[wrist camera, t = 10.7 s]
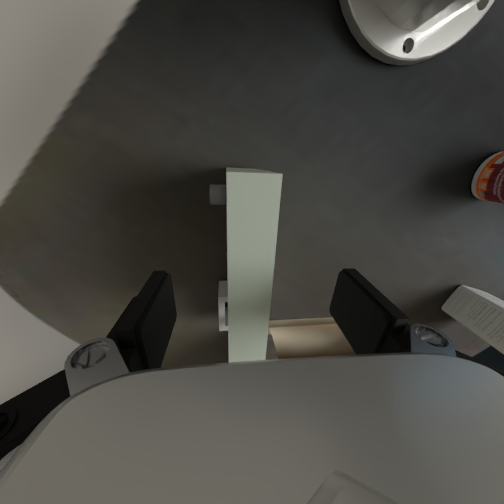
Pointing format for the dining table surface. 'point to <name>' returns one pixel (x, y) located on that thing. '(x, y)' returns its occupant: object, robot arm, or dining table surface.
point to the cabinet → (306, 339)
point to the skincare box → (478, 314)
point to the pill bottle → (490, 179)
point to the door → (248, 258)
